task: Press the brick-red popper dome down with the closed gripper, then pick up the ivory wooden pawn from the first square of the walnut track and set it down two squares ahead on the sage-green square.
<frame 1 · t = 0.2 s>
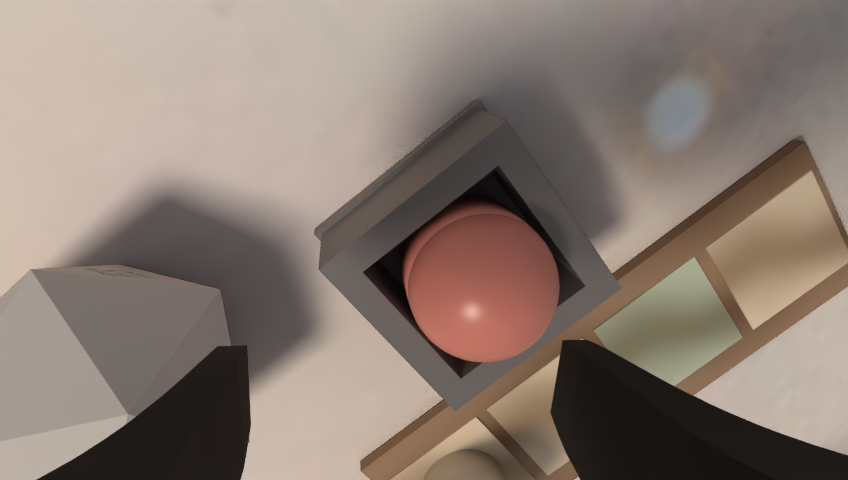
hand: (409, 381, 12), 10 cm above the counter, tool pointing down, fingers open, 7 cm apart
die: (146, 330, 22), on the counter
popper dome: (482, 285, 18), point 5 cm above the counter, slide at 0.0 cm
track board: (609, 364, 25), on the counter
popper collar: (454, 239, 22), on the counter
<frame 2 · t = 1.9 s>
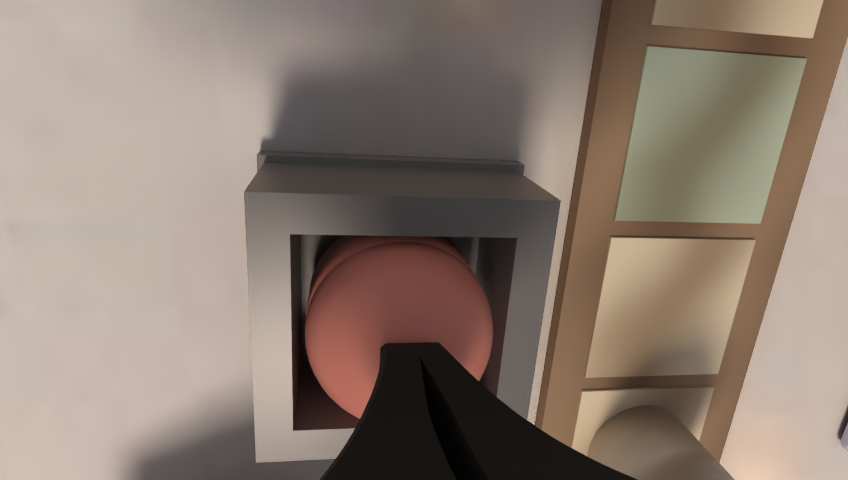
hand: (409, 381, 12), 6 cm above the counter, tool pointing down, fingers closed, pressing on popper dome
popper dome: (399, 328, 14), point 4 cm above the counter, slide at 1.0 cm, touching gripper
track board: (675, 224, 19), on the counter
pawn: (635, 448, 21), point 1 cm above the counter, touching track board
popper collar: (388, 276, 18), on the counter
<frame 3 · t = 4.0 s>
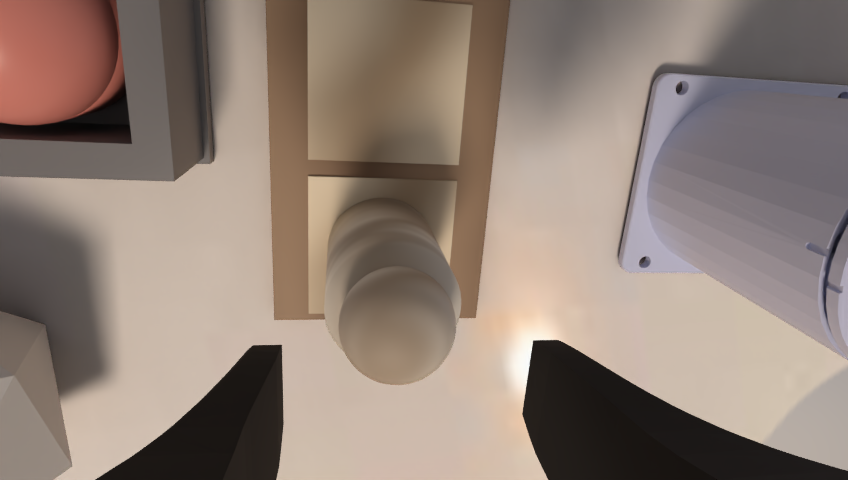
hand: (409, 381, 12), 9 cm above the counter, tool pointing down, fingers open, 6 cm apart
popper dome: (13, 26, 14), point 3 cm above the counter, slide at 1.2 cm
pawn: (381, 248, 20), point 1 cm above the counter, touching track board
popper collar: (74, 31, 17), on the counter
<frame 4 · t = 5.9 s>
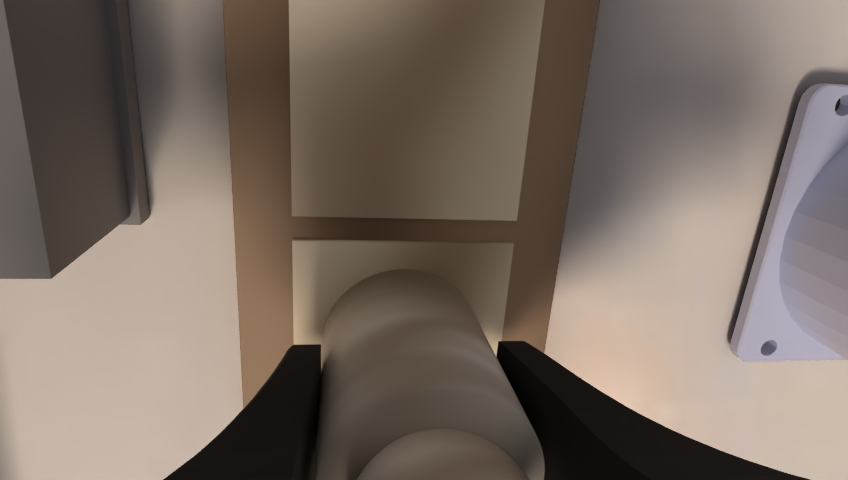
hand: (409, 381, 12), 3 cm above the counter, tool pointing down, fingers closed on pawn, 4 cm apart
pawn: (400, 340, 14), point 1 cm above the counter, touching gripper, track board
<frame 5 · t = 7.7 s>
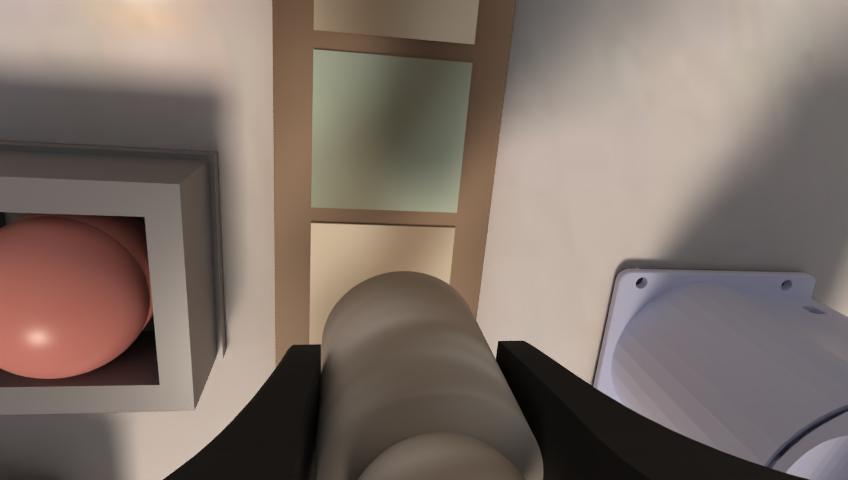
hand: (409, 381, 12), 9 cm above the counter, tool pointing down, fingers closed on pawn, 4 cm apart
popper dome: (62, 294, 16), point 3 cm above the counter, slide at 1.2 cm
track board: (383, 212, 21), on the counter
pawn: (400, 342, 14), point 8 cm above the counter, touching gripper
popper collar: (107, 255, 20), on the counter
when the fingers open (4 cm above the counter, at t = 9.9 s): pawn drops 2 cm, resting on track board.
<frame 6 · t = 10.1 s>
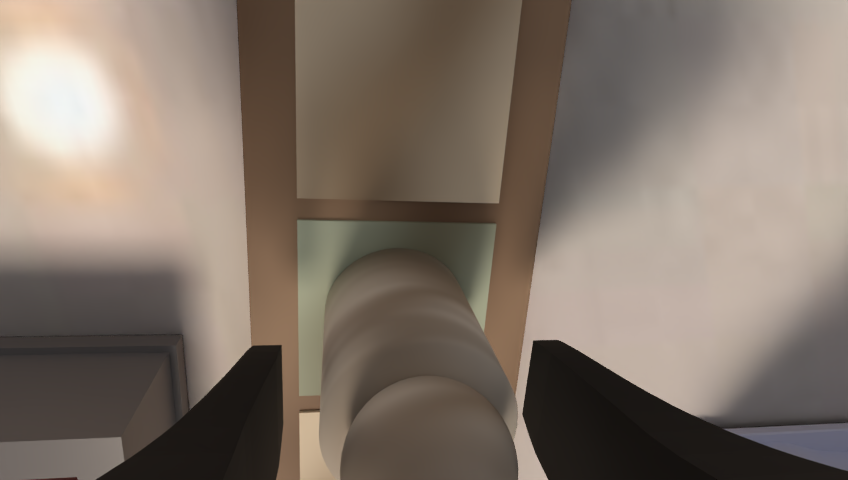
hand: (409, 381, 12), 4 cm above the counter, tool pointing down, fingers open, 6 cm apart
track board: (388, 387, 17), on the counter
pawn: (395, 313, 15), point 1 cm above the counter, touching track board
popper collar: (50, 455, 16), on the counter
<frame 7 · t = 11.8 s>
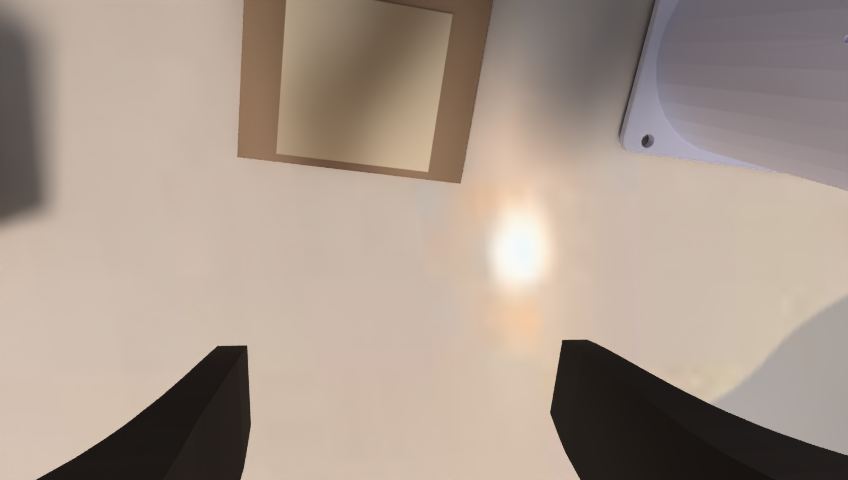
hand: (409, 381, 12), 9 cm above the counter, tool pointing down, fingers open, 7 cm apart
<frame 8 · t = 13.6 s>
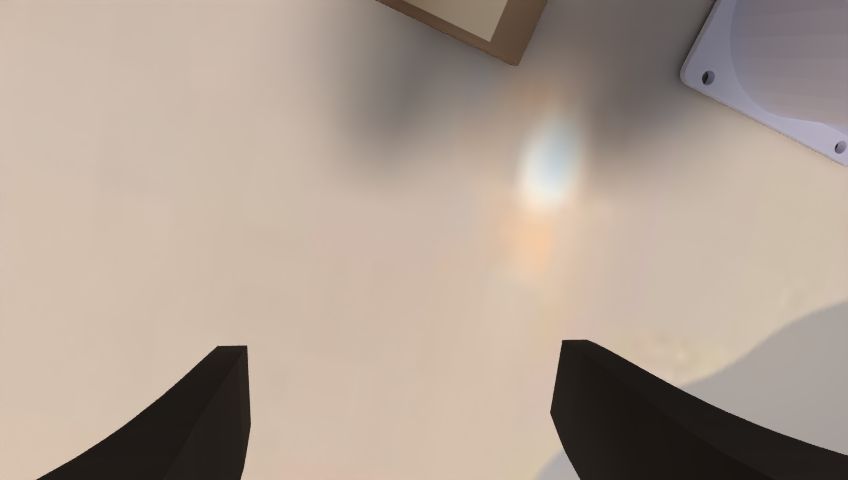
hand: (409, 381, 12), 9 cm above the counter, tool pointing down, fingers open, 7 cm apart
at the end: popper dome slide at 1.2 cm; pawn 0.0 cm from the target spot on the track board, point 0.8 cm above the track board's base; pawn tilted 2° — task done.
